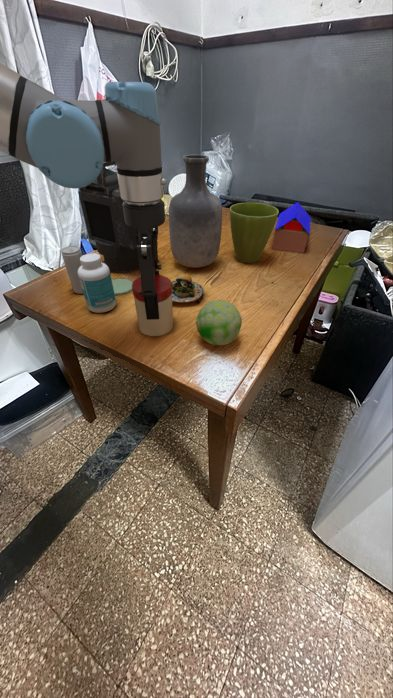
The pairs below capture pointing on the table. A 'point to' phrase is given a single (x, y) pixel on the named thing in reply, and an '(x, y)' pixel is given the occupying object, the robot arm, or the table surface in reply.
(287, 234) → the house
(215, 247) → the vase
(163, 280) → the jar lid
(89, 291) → the pill bottle
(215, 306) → the decorative ball
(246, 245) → the flower pot
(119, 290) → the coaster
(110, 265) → the lantern
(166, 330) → the jar
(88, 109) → the robot arm
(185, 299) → the plate of food
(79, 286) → the beverage can
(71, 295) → the table surface
